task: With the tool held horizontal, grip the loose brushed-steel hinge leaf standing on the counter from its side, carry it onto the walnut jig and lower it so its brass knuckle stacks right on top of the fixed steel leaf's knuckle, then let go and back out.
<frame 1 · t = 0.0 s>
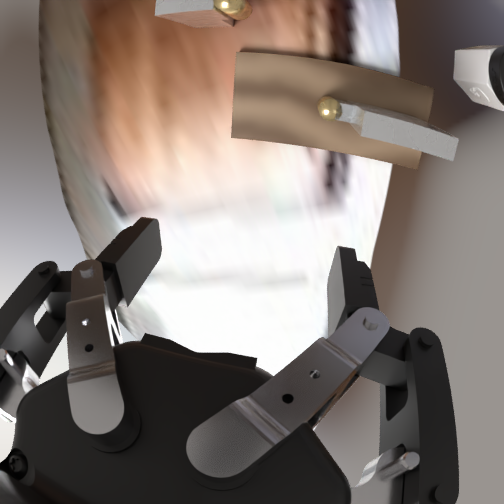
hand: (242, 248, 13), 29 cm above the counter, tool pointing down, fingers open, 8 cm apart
jig board: (334, 105, 34), on the counter
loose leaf: (218, 19, 29), on the counter
fixed leaf: (327, 105, 33), resting on jig board
jar: (474, 73, 26), on the counter
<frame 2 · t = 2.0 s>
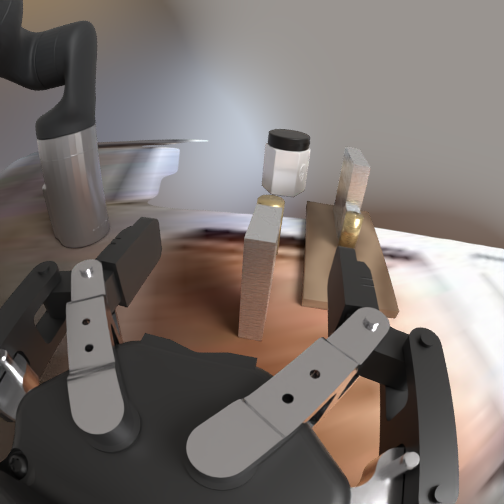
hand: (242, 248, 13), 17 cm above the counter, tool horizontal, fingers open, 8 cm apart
jig board: (343, 250, 44), on the counter
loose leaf: (254, 318, 32), on the counter
fixed leaf: (345, 247, 42), resting on jig board
jar: (282, 189, 61), on the counter
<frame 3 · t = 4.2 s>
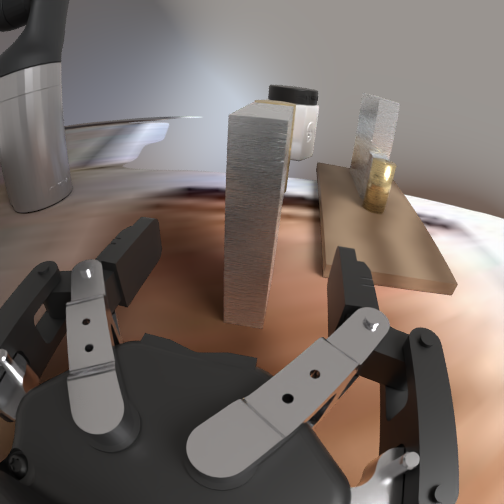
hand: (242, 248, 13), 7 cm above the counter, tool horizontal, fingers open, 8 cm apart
jig board: (369, 213, 32), on the counter
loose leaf: (251, 293, 20), on the counter
fixed leaf: (373, 208, 31), resting on jig board
jar: (286, 154, 50), on the counter
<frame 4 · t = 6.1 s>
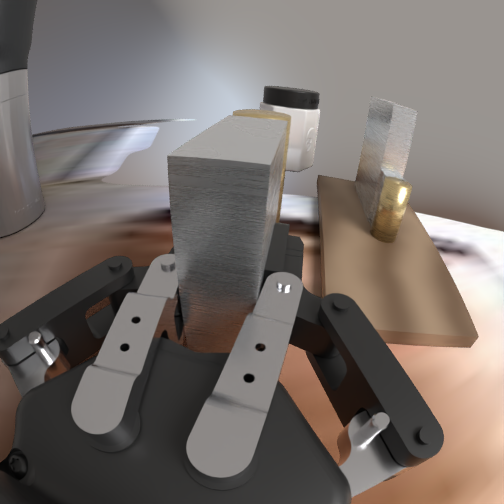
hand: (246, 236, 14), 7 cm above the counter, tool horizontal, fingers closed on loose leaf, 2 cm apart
jig board: (377, 240, 27), on the counter
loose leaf: (233, 359, 16), on the counter, touching gripper
fixed leaf: (382, 235, 26), resting on jig board
jar: (283, 164, 45), on the counter
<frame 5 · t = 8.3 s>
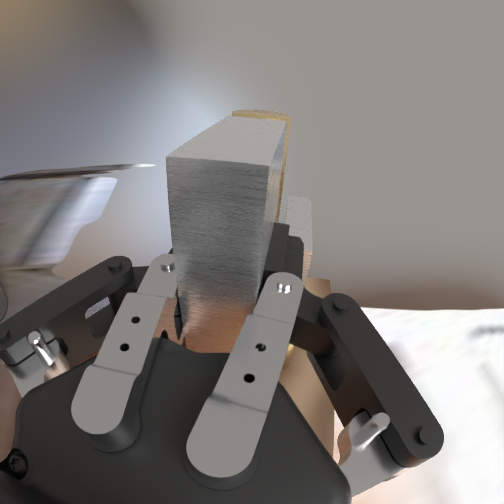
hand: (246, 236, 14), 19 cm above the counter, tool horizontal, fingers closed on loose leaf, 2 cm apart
jig board: (275, 359, 30), on the counter
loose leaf: (232, 360, 16), point 12 cm above the counter, touching gripper
fixed leaf: (276, 360, 28), resting on jig board
when the fingers open (9 cm above the counter, at t = 10.7 s): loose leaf drops 1 cm, resting on jig board.
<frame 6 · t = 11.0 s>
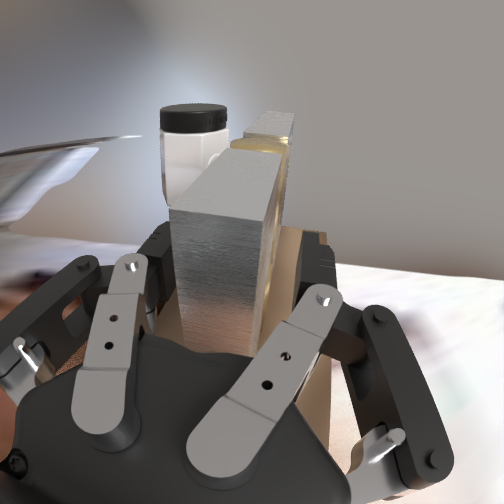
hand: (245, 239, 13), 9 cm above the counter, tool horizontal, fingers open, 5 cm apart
jig board: (246, 324, 21), on the counter
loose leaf: (231, 373, 16), point 1 cm above the counter, touching jig board
fixed leaf: (244, 323, 20), resting on jig board
jar: (193, 196, 39), on the counter
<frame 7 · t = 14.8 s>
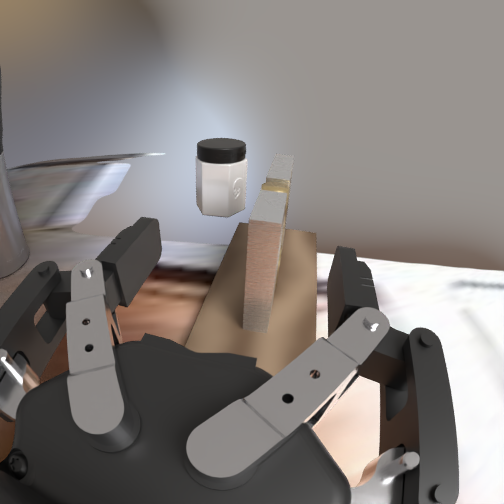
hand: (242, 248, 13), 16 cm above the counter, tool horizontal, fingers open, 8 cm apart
jig board: (265, 287, 36), on the counter
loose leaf: (259, 310, 31), point 1 cm above the counter, touching jig board
fixed leaf: (265, 285, 34), resting on jig board
jar: (220, 208, 53), on the counter
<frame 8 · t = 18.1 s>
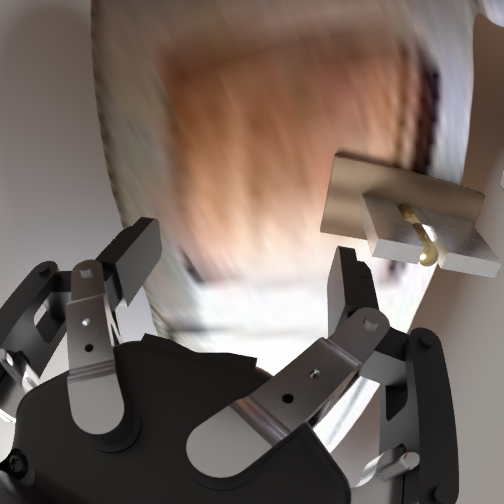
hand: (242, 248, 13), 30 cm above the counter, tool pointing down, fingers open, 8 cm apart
jig board: (407, 208, 40), on the counter
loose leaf: (378, 205, 40), point 1 cm above the counter, touching jig board
fixed leaf: (403, 211, 40), resting on jig board
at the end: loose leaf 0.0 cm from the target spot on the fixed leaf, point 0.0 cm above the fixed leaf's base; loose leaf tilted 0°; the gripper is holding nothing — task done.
